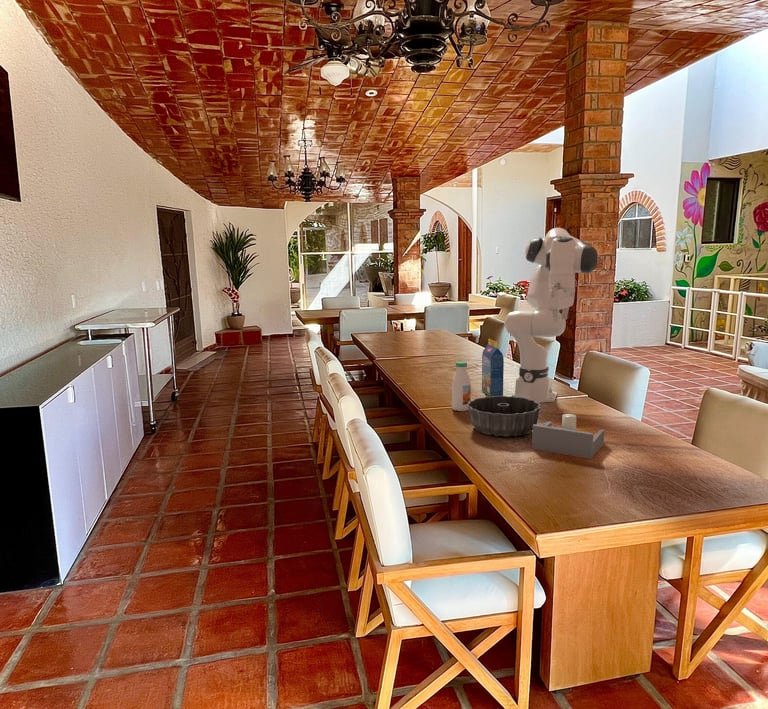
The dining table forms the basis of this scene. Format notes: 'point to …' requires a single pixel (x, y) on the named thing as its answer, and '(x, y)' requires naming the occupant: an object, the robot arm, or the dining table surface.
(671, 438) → the dining table surface
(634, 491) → the dining table surface
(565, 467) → the dining table surface
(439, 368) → the dining table surface
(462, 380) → the milk bottle
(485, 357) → the blue food package
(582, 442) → the grey open tray
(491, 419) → the bundt pan
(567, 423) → the dome-topped cream cylinder
